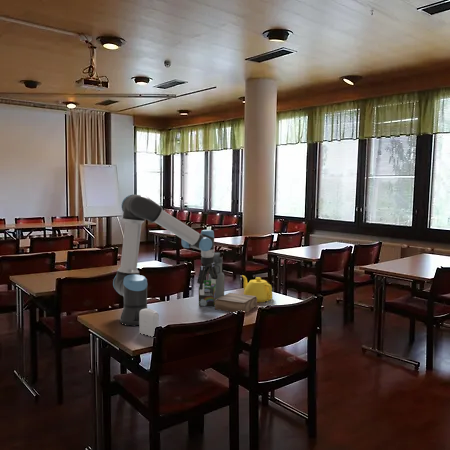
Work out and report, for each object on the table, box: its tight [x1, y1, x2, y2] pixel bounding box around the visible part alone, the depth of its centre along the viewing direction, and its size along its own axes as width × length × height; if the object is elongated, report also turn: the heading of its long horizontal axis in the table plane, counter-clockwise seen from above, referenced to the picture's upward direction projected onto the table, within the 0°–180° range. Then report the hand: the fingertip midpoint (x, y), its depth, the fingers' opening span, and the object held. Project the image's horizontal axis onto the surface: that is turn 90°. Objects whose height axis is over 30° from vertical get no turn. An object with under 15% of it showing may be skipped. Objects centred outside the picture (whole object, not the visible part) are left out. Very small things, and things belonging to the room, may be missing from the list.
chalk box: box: [198, 279, 216, 308], centre depth 269 cm, size 9×9×15 cm
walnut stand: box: [214, 292, 258, 313], centre depth 263 cm, size 18×18×6 cm
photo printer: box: [138, 307, 160, 338], centre depth 214 cm, size 10×4×12 cm, turn 54°
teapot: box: [241, 274, 274, 303], centre depth 284 cm, size 25×18×14 cm
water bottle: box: [208, 252, 225, 299], centre depth 285 cm, size 10×10×28 cm
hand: (207, 292), depth 269 cm, fingers open, 13 cm apart
